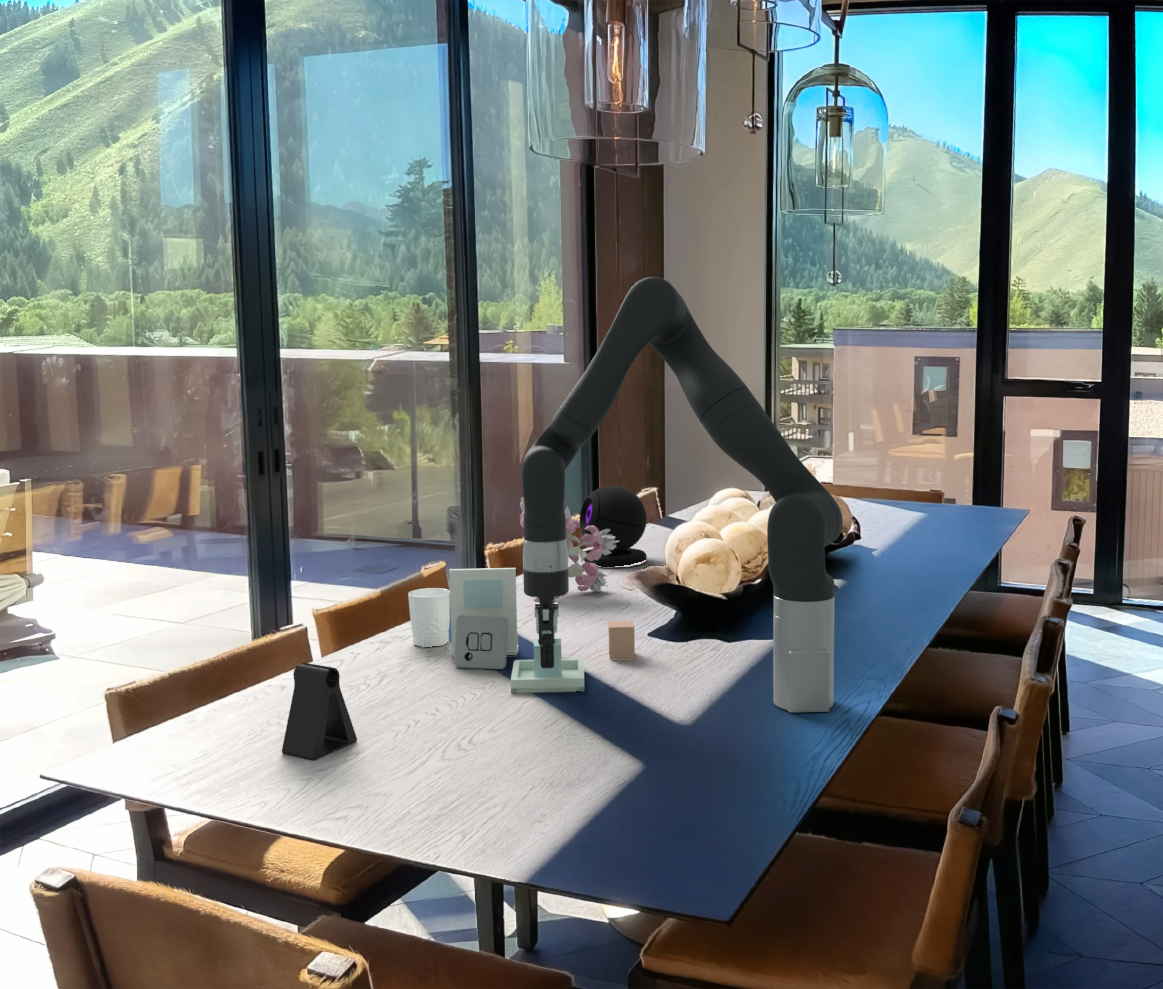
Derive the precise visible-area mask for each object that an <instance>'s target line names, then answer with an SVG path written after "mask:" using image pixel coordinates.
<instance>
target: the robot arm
mask: <svg viewBox="0 0 1163 989" xmlns="http://www.w3.org/2000/svg"><path fill="white" fill-rule="evenodd" d="M647 344H649V345H650V346H651V347H652V348H653V350H655V351H656V353H657V354H658V355H659V356H660V357H661V358H662V359H663V361H664V362H665V363H666V364H667V366H669V368H670V369H671V371H672V372H673V373H674V375H675V377H676V379H677V381H678V382H679V385H680V387H681V389H682V392H683V393H684V395H685V398H686V399H687V402H688V403H689V406H690V408H691V409H692V411H693V413H694V415H695V416H696V417H697V419H698V421H699V422H700V423H701V425H702V426H703V428H704V430H706V432H707V434H708V435H709V437H710V438H711V439H712V441H713V442H714V444H716V445H717V447H719V449H720V450H721V451H722V452H723V453H725V454H726V455H727V456H728V457H729V458H731V459H732V460H733V461H734V462H736V463H737V464H738V465H740V466H741V467H742V468H743V469H745V470H746V471H747V472H749V473H750V474H751V475H752V476H754V477H755V478H756V479H757V480H758V481H759V482H760V483H761V484H762V486H764V488H765V489H766V490H767V492H768V493H769V495H770V496H771V497H772V498H773V500H774V501H775V503H774V505H772V507H771V509H770V512H769V514H768V518H767V528H766V531H767V532H766V534H767V537H766V539H767V540H766V541H767V564H768V573H769V577H770V580H771V583H772V586H773V621H772V622H773V623H772V624H773V625H772V627H773V628H772V629H773V631H772V632H773V633H772V634H773V647H772V648H773V652H772V654H773V664H772V665H773V668H772V669H773V670H772V672H773V676H772V678H773V679H772V680H773V684H772V685H773V688H772V689H773V700H772V702H773V704H774V705H775V706H776V707H778V708H780V709H783V710H785V711H787V712H788V713H820V712H821V713H823V712H825V713H827V712H828V713H829V712H830V709H831V708H832V707H833V706H834V694H835V693H834V690H835V689H834V688H835V687H834V685H835V683H834V682H835V679H834V675H835V674H834V673H835V671H834V670H835V664H834V663H835V595H836V594H835V587H836V586H835V580H834V577H833V576H831V575H830V574H829V573H828V571H827V569H826V559H825V558H826V556H825V552H826V551H825V547H828V546H830V545H831V544H833V543H834V542H835V541H836V540H837V539H838V538H839V537H840V535H841V533H842V530H843V525H844V524H843V523H844V519H843V515H842V511H841V508H840V505H839V504H838V502H837V500H836V499H835V498H834V497H833V496H832V494H831V493H830V492H829V491H828V490H827V489H826V488H825V486H823V484H822V483H821V482H820V481H819V480H818V479H817V478H816V476H814V475H813V474H812V472H810V470H809V469H808V468H807V467H806V465H805V464H804V463H803V462H802V460H800V458H799V457H798V456H797V455H796V454H795V452H794V450H793V449H792V448H791V447H790V445H789V443H788V442H787V440H786V439H785V438H784V436H783V435H782V434H781V432H780V431H779V430H778V428H777V427H776V425H775V423H774V422H773V421H772V420H771V418H770V417H769V415H768V414H767V413H766V411H765V410H764V408H763V407H762V405H761V404H760V402H759V401H758V400H757V398H756V397H755V395H754V394H753V393H752V391H751V390H750V389H749V387H748V386H747V384H745V382H744V380H742V378H740V376H739V375H738V374H737V373H736V372H735V370H734V369H733V368H732V367H731V366H730V365H729V364H728V363H727V362H726V361H725V360H724V359H723V358H722V357H721V356H720V355H719V354H718V353H717V352H716V351H715V350H714V349H713V348H712V347H711V345H710V343H709V342H708V340H707V339H706V338H705V336H704V334H703V332H702V331H701V329H700V328H699V326H698V324H697V322H696V320H695V319H694V318H693V316H692V313H691V311H690V310H689V308H688V306H687V304H686V302H685V300H684V299H683V296H682V295H680V293H679V292H678V291H677V289H676V288H675V287H674V286H673V285H672V283H670V282H669V280H666V279H664V278H662V277H658V276H648V277H644V278H642V279H640V280H638V281H637V282H635V283H634V284H633V285H632V286H631V288H630V289H629V290H628V292H627V294H626V296H624V299H623V301H622V303H621V305H620V307H619V309H618V311H617V313H616V316H615V317H614V320H613V321H612V323H611V326H610V328H609V330H608V331H607V333H606V335H605V337H604V338H603V340H602V342H601V343H600V345H599V347H598V348H597V351H596V353H595V355H594V356H593V357H592V359H591V361H590V363H589V364H588V366H587V368H586V369H585V370H584V372H583V373H582V375H581V376H580V378H579V379H578V381H577V382H576V384H575V385H574V386H573V388H572V390H571V391H570V392H569V393H568V394H567V396H566V398H565V400H564V401H563V403H562V404H561V405H560V407H559V408H558V409H557V410H556V412H555V414H554V415H553V418H552V419H551V421H550V423H549V424H548V425H547V427H546V428H545V429H544V430H543V432H542V433H541V434H540V435H539V436H538V438H536V439H535V441H534V442H533V444H532V445H531V447H530V448H529V449H528V451H527V452H526V454H524V457H523V460H522V463H521V480H522V493H523V498H524V505H525V510H524V528H523V547H522V548H523V549H522V550H523V551H522V574H523V592H524V593H523V594H525V595H526V596H527V597H531V598H537V597H538V598H539V602H537V603H535V602H534V603H535V604H534V605H535V606H534V618H535V626H536V627H535V628H536V629H535V630H536V631H535V632H536V633H537V634H538V639H539V640H538V643H539V646H540V658H541V667H542V668H553V667H554V644H555V639H556V636H555V634H557V633H558V621H559V620H558V618H559V612H560V611H559V606H560V605H559V602H555V599H556V597H562V596H566V595H567V594H568V593H569V591H570V590H569V589H570V586H569V585H570V584H569V583H570V580H569V578H570V577H569V575H568V567H569V557H568V549H567V540H566V517H565V489H566V488H565V487H566V486H565V482H566V477H565V476H566V470H567V468H568V467H569V465H570V463H571V462H572V460H573V459H574V458H575V456H576V455H577V453H579V451H580V449H581V448H582V446H584V445H585V444H586V443H588V442H589V440H590V439H591V438H592V436H593V435H594V434H595V432H596V431H597V430H598V429H599V427H600V425H601V424H602V423H603V421H604V420H605V419H606V417H607V415H608V414H609V412H610V411H611V409H612V407H613V405H614V403H615V401H616V399H617V397H618V395H619V393H620V390H621V389H622V385H623V384H624V383H623V382H624V381H625V378H626V376H627V374H628V372H629V370H630V368H631V366H632V365H633V364H634V362H635V360H636V358H637V357H638V355H639V354H640V353H641V352H642V350H643V349H644V347H646V346H647ZM554 597H555V598H554Z"/></svg>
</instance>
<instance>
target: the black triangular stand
mask: <svg viewBox="0 0 1163 989" xmlns="http://www.w3.org/2000/svg"><path fill="white" fill-rule="evenodd" d="M293 681H294V682H293V683H294V685H293V686H294V687H293V692H292V696H291V697H292V698H291V703H290V709H289V712H288V717H287V723H286V728H285V732H284V737H283V738H284V739H283V743H282V749H281V753H282V754H284V755H287V756H293V757H297V758H302V759H306V760H311V761H317V760H319V759H321V758H324V757H325V756H327V755H330V754H333V753H335V752H336V751H339V750H342V749H344V748H346V747H348V746H350V745H353V744H356V742H357V741H358V737H357V734H356V732H355V729H354V726H353V723H352V720H351V716H350V714H349V711H348V708H347V705H346V702H345V699H344V695H343V692H342V689H341V686H340V672H339V670H338V669H337V668H335V667H331V666H326V665H325V666H324V665H320V664H314V663H308V662H302V663H300V664H297V665H296V666H295V667H294V670H293Z"/></svg>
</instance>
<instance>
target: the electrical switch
mask: <svg viewBox="0 0 1163 989" xmlns="http://www.w3.org/2000/svg"><path fill="white" fill-rule="evenodd" d="M507 627H508V619H507V617H506V616H484V615H459V616H458V617H457V621H456V640H455V657H453V658H454V660H453V661H454V662H453V664H454V666H455V667H456V668H459V669H478V670H479V669H481V670H483V669H485V670H504V669H505V668H506V667H507V656H506V648H507ZM470 654H471V655H472V657H468V656H469V655H470Z"/></svg>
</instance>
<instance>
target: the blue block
mask: <svg viewBox="0 0 1163 989" xmlns="http://www.w3.org/2000/svg"><path fill="white" fill-rule="evenodd" d="M538 640H539V638H535V639H534V640H533V660H534V678H542V677H562V662H561V659H562V638H555V644H554V667H553V668H542V667H541V658H540V646H539V643H538Z"/></svg>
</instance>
